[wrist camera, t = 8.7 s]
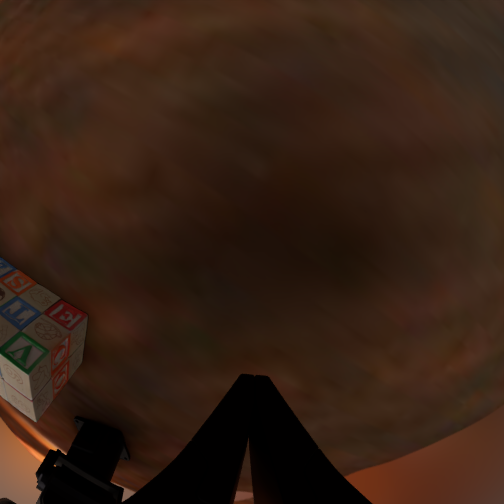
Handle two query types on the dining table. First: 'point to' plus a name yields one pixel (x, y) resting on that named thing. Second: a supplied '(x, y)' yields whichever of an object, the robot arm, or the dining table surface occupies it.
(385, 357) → the dining table surface
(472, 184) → the dining table surface
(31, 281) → the stack of blocks
